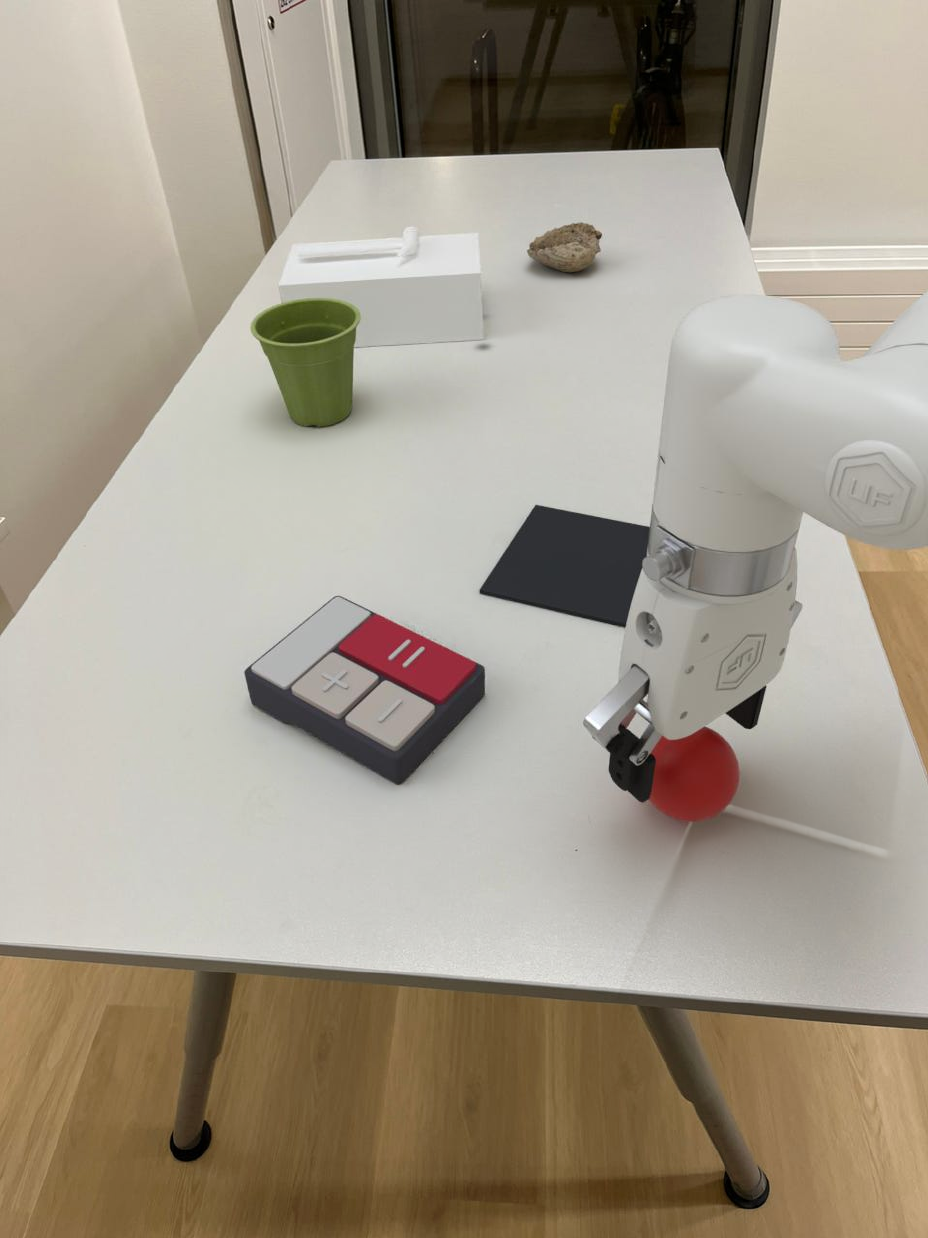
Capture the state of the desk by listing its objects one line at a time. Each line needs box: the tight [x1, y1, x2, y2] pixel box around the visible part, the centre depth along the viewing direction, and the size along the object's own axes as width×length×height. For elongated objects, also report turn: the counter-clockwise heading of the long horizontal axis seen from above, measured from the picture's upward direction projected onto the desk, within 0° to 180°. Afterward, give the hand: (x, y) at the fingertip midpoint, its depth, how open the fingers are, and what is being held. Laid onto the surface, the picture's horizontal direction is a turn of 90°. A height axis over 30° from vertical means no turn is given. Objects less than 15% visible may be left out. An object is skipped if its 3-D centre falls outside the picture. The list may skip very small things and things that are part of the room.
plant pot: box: [250, 298, 361, 427], centre depth 106 cm, size 12×12×11 cm
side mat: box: [479, 504, 650, 628], centre depth 84 cm, size 20×14×1 cm
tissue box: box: [277, 226, 485, 348], centre depth 124 cm, size 14×25×11 cm, turn 91°
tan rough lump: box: [526, 221, 603, 273], centre depth 138 cm, size 11×7×10 cm
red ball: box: [648, 725, 740, 822], centre depth 63 cm, size 6×6×6 cm
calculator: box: [243, 595, 486, 785], centre depth 73 cm, size 11×4×15 cm
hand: (683, 750), depth 62 cm, fingers open, 9 cm apart
